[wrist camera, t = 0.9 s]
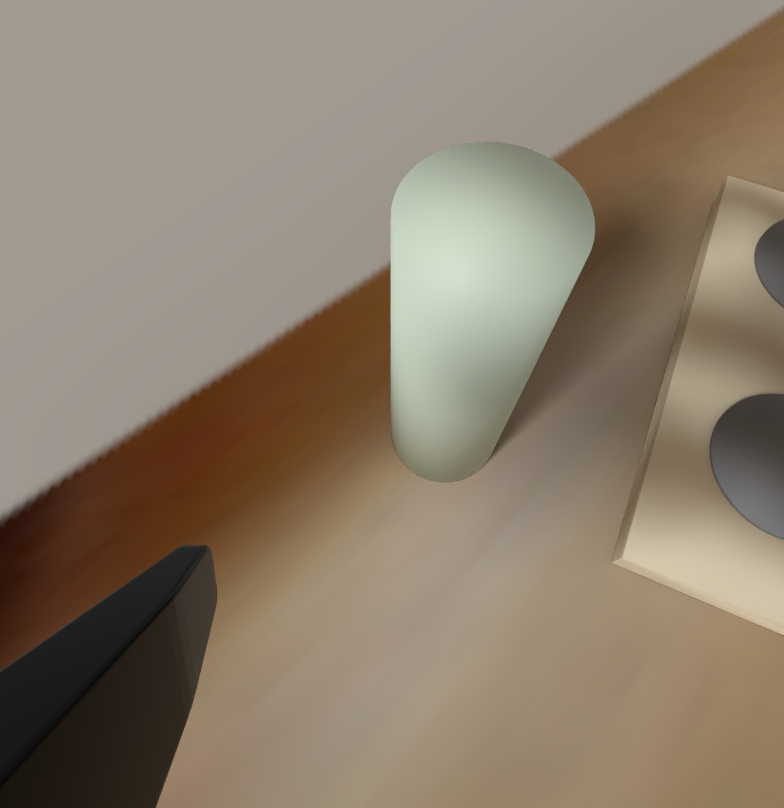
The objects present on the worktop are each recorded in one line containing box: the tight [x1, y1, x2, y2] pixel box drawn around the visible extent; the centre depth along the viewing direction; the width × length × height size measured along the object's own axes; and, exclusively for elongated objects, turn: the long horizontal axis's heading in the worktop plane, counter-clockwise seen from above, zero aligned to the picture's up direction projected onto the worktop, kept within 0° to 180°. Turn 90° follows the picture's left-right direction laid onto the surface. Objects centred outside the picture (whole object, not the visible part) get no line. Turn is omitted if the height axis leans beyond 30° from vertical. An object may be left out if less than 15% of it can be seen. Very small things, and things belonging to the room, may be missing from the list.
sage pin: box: [391, 142, 595, 482], centre depth 19 cm, size 4×4×13 cm
